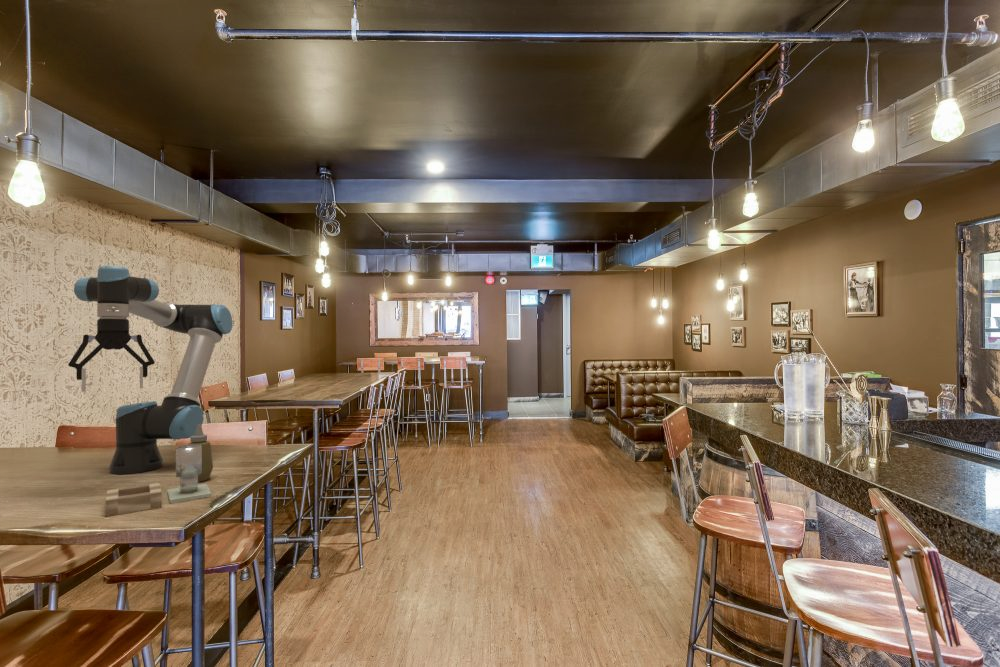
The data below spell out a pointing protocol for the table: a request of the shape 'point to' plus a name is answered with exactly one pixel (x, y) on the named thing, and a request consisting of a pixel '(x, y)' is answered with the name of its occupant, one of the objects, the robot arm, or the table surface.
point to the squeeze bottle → (203, 452)
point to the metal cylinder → (188, 467)
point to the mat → (176, 496)
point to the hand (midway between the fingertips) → (113, 389)
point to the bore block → (133, 499)
